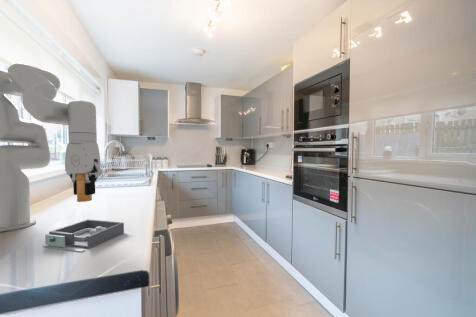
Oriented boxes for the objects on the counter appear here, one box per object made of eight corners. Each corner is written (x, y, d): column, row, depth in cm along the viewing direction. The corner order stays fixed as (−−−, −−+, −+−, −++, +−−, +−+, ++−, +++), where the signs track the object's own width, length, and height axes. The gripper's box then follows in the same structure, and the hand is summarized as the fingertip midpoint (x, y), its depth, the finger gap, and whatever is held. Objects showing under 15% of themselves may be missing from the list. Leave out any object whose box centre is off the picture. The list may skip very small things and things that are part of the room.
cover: (42, 245, 64) (42, 235, 63) (47, 243, 65) (47, 234, 65) (60, 248, 62) (59, 238, 62) (65, 246, 63) (64, 236, 63)
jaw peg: (72, 201, 70) (71, 171, 69) (85, 198, 74) (84, 170, 74) (83, 202, 68) (82, 171, 68) (96, 199, 73) (95, 170, 73)
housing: (40, 246, 65) (40, 233, 64) (88, 228, 79) (87, 218, 79) (81, 252, 60) (81, 238, 60) (123, 232, 75) (123, 221, 75)
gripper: (51, 139, 69) (53, 195, 70) (92, 137, 65) (94, 197, 65) (74, 140, 77) (76, 191, 77) (113, 139, 72) (114, 193, 73)
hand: (84, 193), depth 71 cm, fingers closed on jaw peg, 4 cm apart
